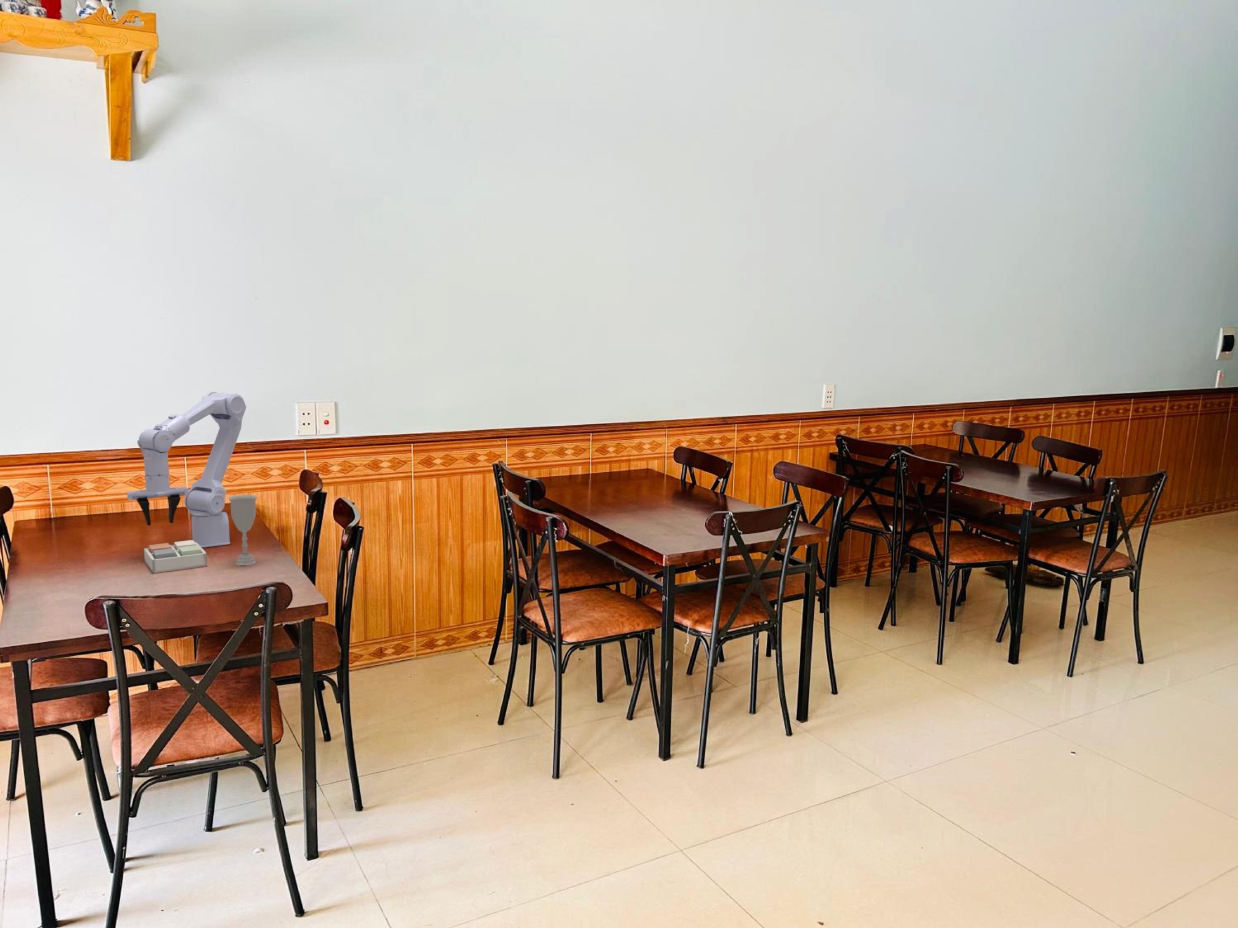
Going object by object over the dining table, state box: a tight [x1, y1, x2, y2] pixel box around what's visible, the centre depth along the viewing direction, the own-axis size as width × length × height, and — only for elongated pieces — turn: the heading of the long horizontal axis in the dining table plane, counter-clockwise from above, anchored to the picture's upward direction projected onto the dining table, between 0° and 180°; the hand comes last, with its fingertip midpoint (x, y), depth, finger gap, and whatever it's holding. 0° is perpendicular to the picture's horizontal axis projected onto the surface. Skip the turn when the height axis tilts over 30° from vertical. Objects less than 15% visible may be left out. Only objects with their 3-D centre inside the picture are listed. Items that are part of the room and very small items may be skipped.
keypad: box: [143, 542, 208, 574], centre depth 239 cm, size 13×13×4 cm
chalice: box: [228, 494, 258, 566], centre depth 240 cm, size 7×7×18 cm
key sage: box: [179, 545, 201, 556], centre depth 238 cm, size 5×5×2 cm
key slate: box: [153, 548, 176, 559], centre depth 235 cm, size 5×5×2 cm
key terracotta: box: [148, 542, 171, 553], centre depth 240 cm, size 5×5×2 cm
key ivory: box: [173, 539, 196, 550], centre depth 243 cm, size 5×5×2 cm
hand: (160, 523), depth 243 cm, fingers open, 5 cm apart
